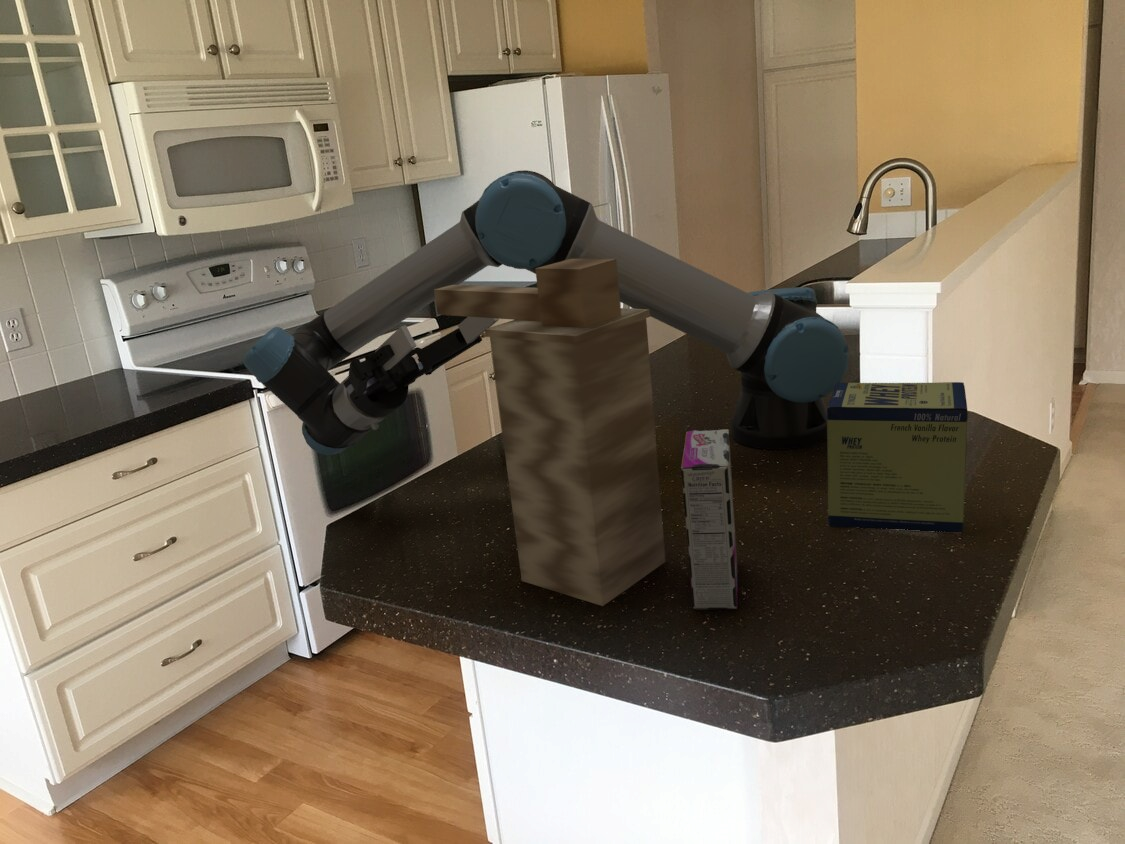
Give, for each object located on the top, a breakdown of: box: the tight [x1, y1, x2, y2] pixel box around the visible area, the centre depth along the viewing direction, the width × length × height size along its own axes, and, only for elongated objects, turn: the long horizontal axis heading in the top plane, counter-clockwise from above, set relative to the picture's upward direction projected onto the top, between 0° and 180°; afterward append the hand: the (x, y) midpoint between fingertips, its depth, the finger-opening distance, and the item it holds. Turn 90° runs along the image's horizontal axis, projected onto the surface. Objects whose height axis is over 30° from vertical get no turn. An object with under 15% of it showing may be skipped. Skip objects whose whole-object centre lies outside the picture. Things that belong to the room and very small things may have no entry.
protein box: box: [826, 381, 969, 533], centre depth 113 cm, size 10×16×16 cm
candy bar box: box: [680, 429, 738, 611], centre depth 100 cm, size 11×5×16 cm, turn 170°
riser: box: [484, 307, 666, 607], centre depth 104 cm, size 13×13×30 cm
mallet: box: [434, 259, 622, 328], centre depth 103 cm, size 24×6×6 cm, turn 50°
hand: (452, 322), depth 111 cm, fingers open, 13 cm apart
